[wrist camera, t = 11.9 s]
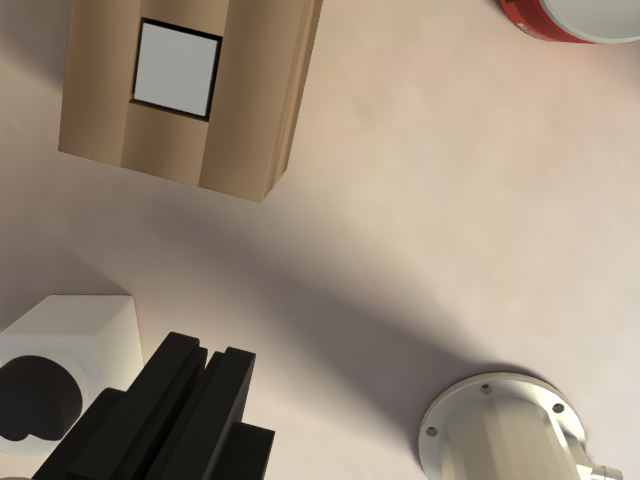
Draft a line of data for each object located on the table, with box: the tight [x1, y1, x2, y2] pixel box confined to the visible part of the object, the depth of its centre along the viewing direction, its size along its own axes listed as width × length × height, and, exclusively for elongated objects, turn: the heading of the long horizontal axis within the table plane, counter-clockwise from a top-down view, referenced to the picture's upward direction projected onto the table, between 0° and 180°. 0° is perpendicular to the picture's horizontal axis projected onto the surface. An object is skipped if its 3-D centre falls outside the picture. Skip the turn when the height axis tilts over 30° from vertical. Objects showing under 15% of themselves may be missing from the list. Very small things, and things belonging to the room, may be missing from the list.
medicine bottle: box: [0, 295, 144, 457], centre depth 43 cm, size 7×7×12 cm
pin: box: [134, 23, 223, 116], centre depth 36 cm, size 4×4×8 cm
